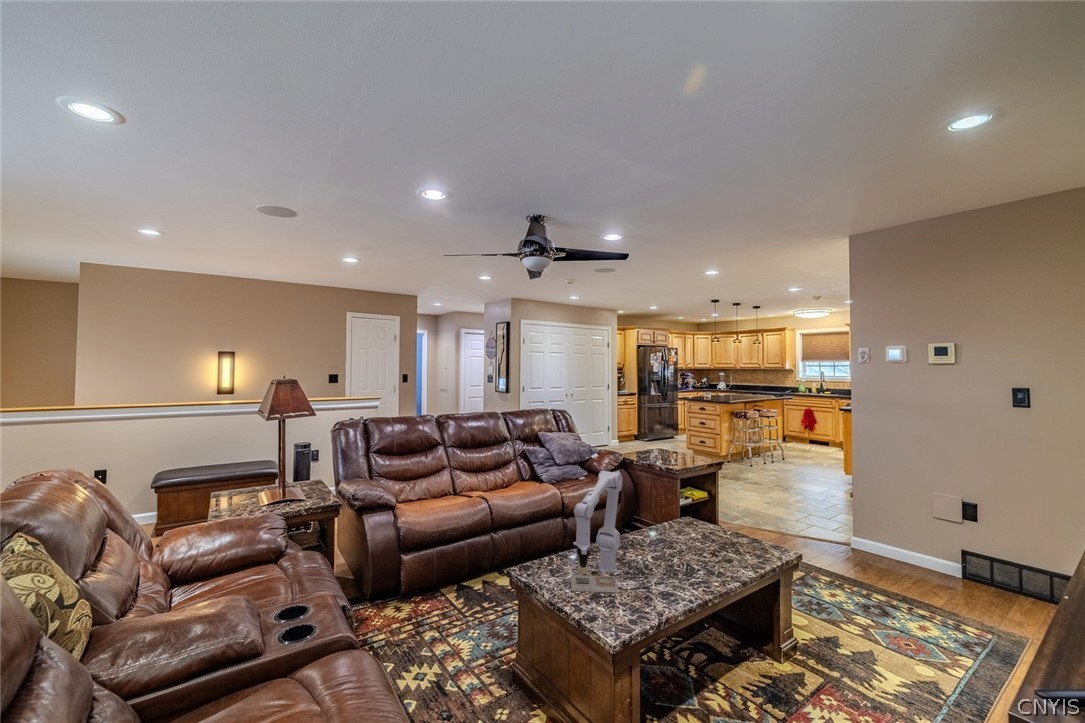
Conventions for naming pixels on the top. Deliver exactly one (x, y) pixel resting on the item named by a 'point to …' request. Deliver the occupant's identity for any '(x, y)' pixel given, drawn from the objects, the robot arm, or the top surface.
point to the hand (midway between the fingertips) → (582, 564)
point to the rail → (594, 583)
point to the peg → (582, 570)
